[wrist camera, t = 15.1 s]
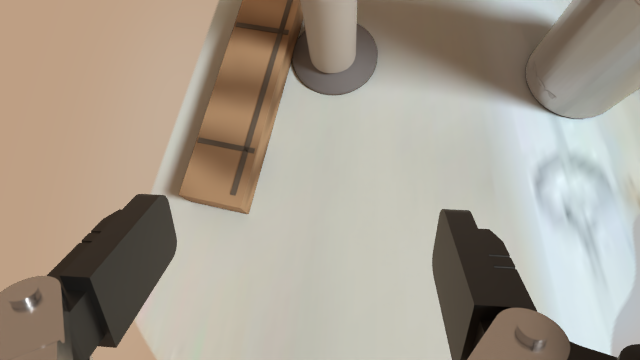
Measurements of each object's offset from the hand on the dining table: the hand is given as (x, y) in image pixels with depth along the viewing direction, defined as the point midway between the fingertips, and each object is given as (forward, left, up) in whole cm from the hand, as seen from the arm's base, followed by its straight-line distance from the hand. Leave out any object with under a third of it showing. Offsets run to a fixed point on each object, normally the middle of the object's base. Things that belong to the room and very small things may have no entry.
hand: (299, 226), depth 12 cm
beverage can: (-7, -21, -26) cm, 34 cm away
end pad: (-8, -21, -26) cm, 34 cm away
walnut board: (+2, -20, -26) cm, 33 cm away
